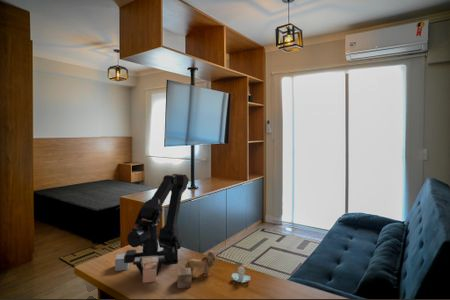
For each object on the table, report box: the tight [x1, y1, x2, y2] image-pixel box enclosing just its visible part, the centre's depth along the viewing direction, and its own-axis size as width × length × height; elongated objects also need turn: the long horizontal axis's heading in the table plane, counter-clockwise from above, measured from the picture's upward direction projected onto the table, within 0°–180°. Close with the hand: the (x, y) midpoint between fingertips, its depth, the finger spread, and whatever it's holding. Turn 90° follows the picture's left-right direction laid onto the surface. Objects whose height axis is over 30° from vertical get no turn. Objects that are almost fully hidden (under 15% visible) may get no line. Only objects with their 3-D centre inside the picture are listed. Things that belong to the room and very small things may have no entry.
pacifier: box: [231, 266, 251, 284], centre depth 107 cm, size 7×6×6 cm
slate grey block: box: [114, 253, 130, 272], centre depth 115 cm, size 5×5×5 cm
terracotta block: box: [142, 262, 158, 283], centre depth 107 cm, size 5×5×5 cm
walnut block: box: [176, 267, 193, 289], centre depth 104 cm, size 5×5×5 cm
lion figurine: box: [184, 250, 217, 279], centre depth 110 cm, size 15×5×9 cm, turn 112°
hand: (150, 275), depth 107 cm, fingers closed on terracotta block, 5 cm apart
